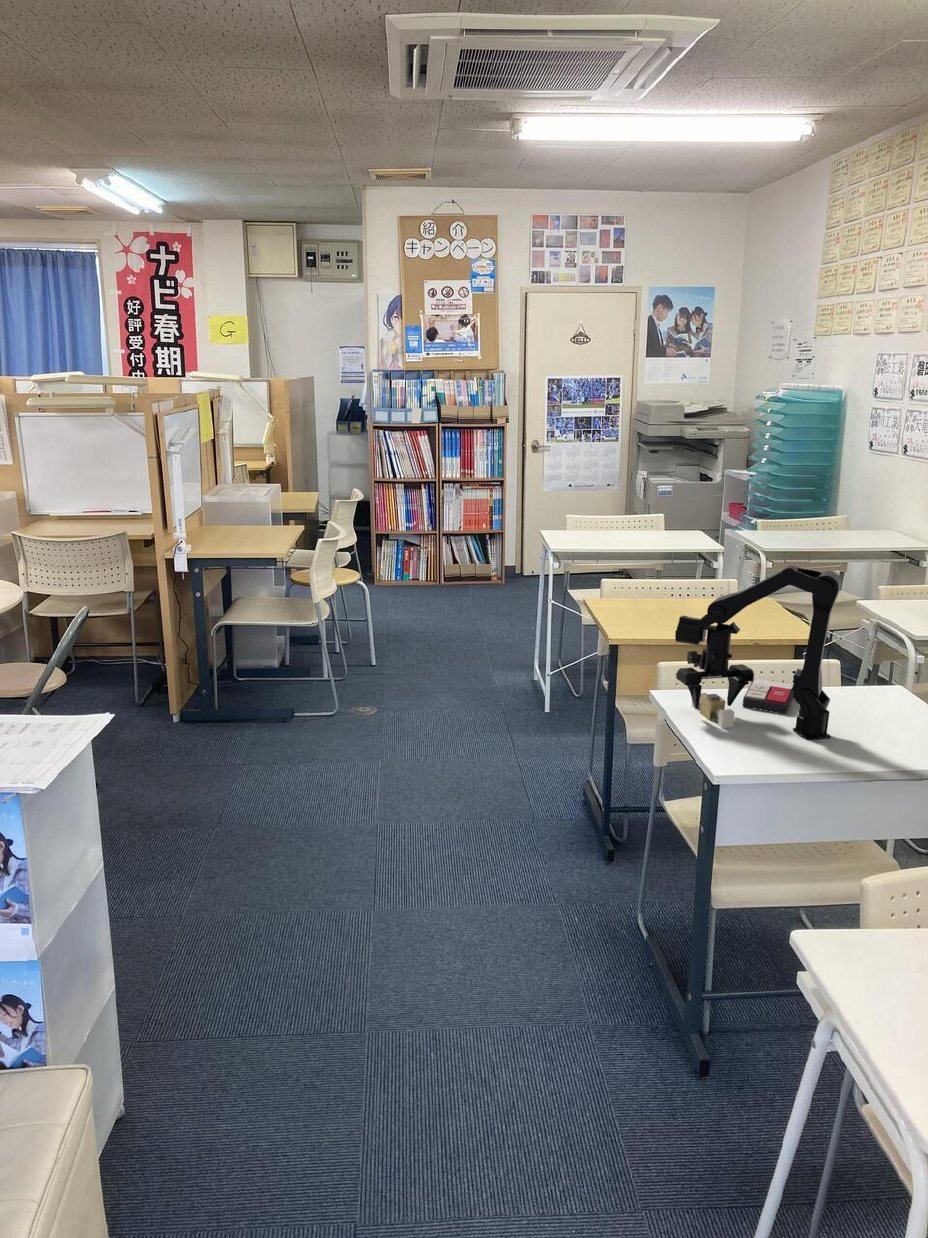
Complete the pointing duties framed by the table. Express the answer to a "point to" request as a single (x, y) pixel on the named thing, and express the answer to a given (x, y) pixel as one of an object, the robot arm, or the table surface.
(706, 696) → the tan block
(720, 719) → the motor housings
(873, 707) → the table surface
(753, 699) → the red and grey box
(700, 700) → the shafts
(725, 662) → the robot arm
